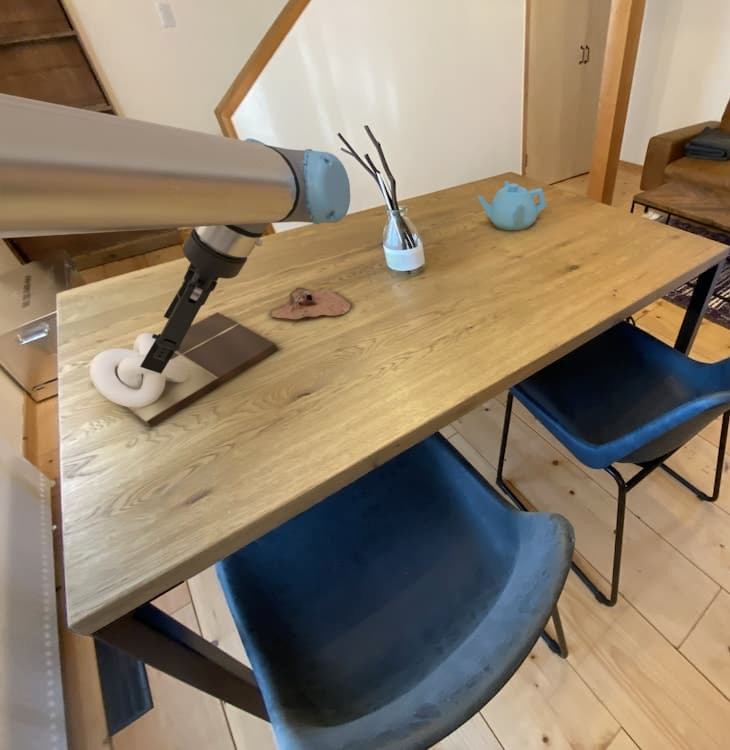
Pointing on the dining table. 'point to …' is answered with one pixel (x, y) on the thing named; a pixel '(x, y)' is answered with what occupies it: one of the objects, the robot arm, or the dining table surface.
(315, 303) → the clay slab
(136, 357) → the white knot sculpture
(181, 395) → the board
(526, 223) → the teapot
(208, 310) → the dining table surface
